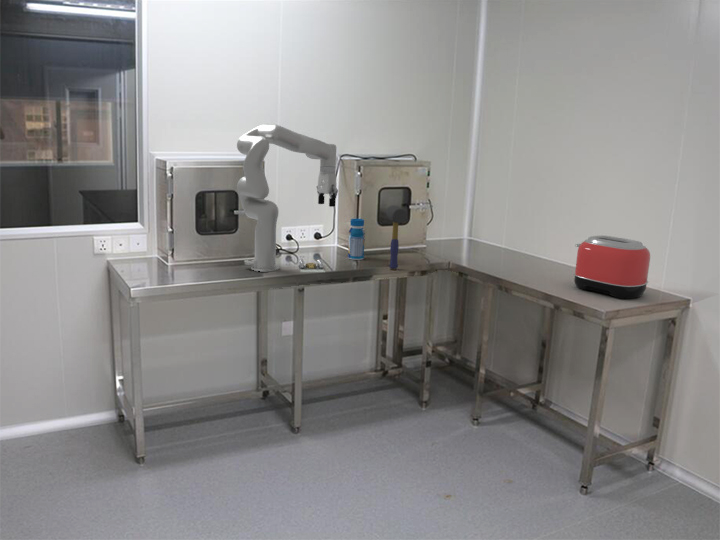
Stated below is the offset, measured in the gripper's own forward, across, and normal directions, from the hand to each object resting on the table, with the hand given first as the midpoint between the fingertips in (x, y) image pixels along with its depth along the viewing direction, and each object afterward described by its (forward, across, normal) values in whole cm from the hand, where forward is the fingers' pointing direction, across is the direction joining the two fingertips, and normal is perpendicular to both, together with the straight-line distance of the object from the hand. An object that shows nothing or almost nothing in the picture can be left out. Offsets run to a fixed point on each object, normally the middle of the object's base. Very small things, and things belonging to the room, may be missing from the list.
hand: (326, 205), depth 320 cm
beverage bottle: (+27, +5, +15) cm, 32 cm away
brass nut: (+27, +15, -17) cm, 35 cm away
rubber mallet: (+27, +33, +17) cm, 46 cm away
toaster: (+27, +108, +75) cm, 134 cm away
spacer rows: (+27, +14, -17) cm, 35 cm away
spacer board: (+27, +18, -18) cm, 37 cm away
